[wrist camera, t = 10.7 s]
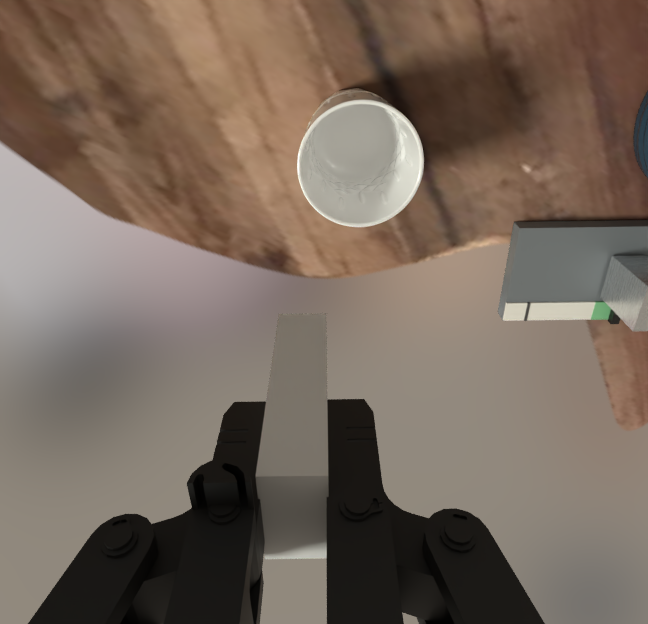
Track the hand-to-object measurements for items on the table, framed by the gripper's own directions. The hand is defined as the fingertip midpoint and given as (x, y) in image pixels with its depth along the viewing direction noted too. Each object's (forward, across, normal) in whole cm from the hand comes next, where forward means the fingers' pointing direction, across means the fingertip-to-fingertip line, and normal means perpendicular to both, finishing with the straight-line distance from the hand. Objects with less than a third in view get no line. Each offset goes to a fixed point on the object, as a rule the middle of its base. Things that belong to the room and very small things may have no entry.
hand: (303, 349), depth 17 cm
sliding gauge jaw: (+27, +27, -12) cm, 40 cm away
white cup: (+29, +3, +1) cm, 29 cm away
